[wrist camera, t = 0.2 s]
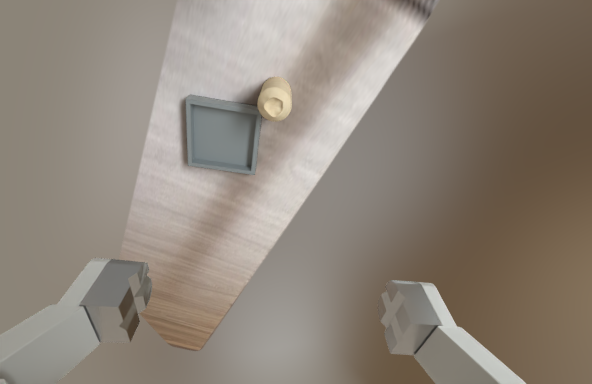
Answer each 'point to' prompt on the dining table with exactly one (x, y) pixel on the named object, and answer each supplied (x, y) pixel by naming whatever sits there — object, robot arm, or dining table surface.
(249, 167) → the serving tray
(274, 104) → the candle
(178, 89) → the dining table surface
